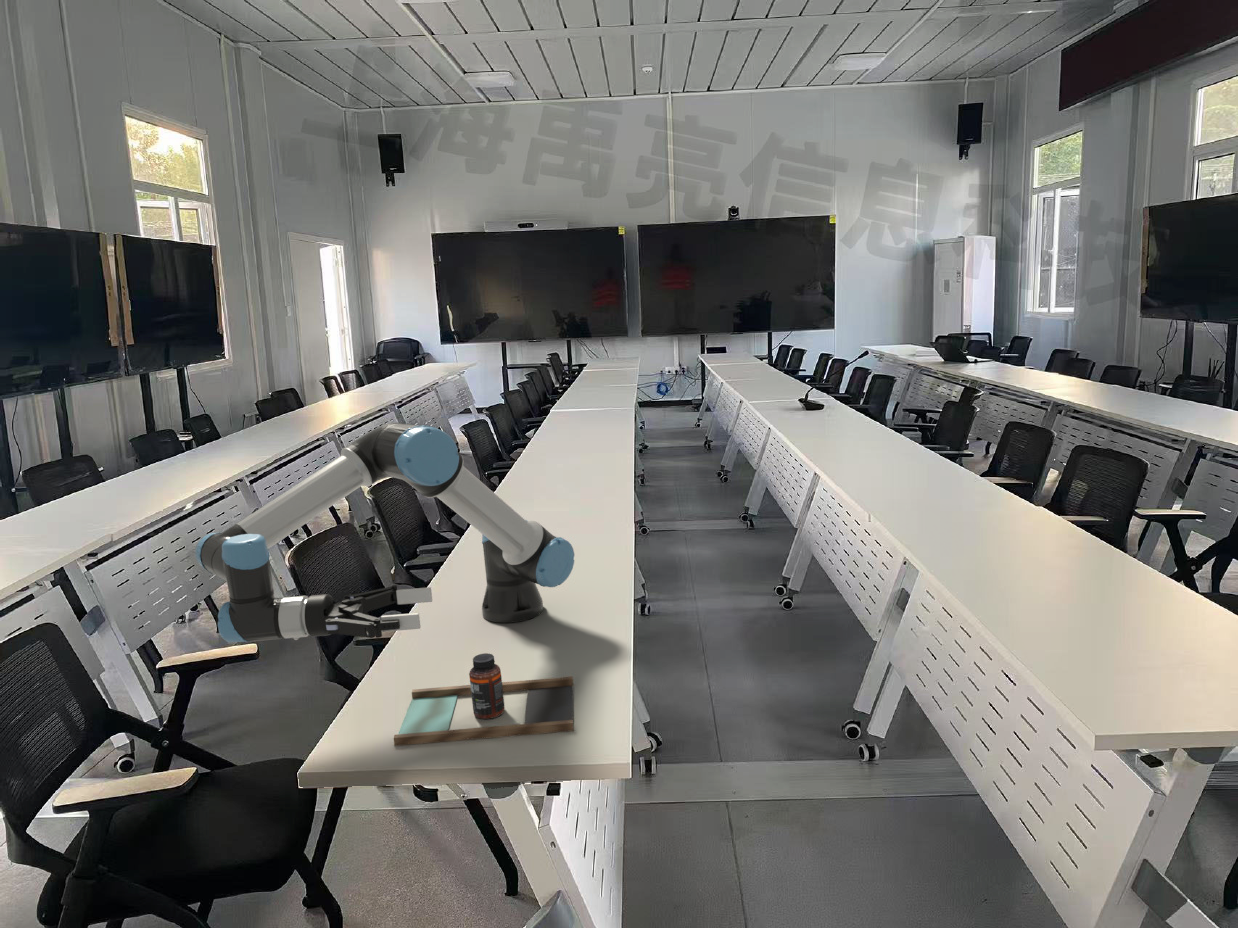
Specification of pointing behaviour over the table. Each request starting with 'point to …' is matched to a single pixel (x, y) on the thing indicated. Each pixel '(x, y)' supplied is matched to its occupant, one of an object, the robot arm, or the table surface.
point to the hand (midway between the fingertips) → (425, 607)
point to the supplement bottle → (486, 687)
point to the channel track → (434, 713)
